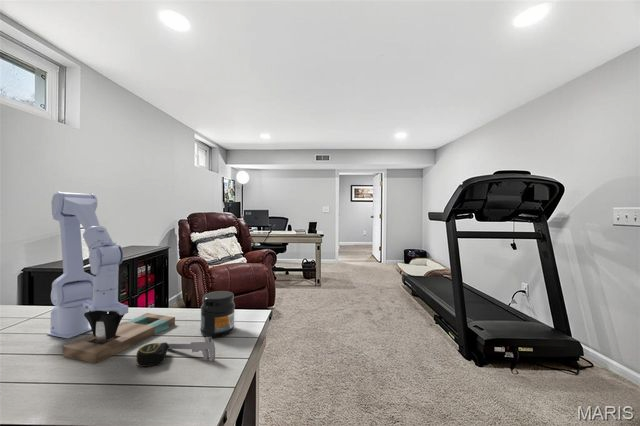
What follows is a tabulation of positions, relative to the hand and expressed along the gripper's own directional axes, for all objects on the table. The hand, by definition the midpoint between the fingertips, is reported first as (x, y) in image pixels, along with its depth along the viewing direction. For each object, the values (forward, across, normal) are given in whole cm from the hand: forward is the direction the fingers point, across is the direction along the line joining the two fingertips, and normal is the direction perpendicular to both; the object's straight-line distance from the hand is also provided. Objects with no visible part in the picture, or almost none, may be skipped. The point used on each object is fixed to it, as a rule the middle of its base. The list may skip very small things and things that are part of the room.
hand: (104, 336), depth 79 cm
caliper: (+4, +23, +4) cm, 24 cm away
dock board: (+3, 0, +6) cm, 7 cm away
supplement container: (+3, +23, +20) cm, 30 cm away
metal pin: (+3, 0, 0) cm, 3 cm away
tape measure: (+4, +19, -1) cm, 19 cm away
